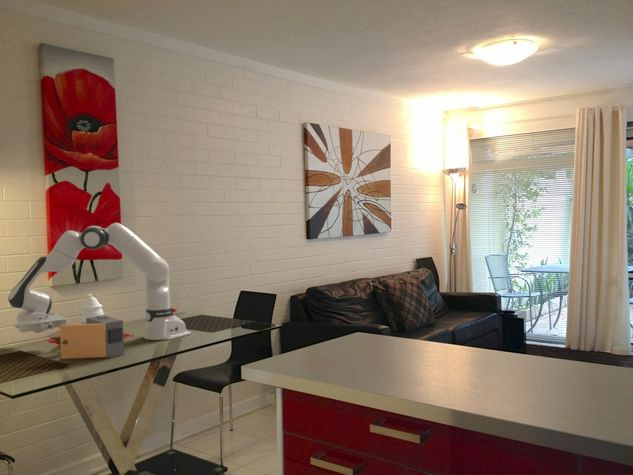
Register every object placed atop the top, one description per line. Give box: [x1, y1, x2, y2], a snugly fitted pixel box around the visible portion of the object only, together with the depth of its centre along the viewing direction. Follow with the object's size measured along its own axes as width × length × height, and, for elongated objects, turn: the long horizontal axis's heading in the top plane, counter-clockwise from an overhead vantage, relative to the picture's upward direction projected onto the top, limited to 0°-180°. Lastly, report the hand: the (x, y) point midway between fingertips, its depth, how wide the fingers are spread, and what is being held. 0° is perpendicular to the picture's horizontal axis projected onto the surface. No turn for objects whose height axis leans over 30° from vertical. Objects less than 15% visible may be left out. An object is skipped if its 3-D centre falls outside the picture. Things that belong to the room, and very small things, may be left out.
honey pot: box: [79, 293, 105, 324], centre depth 322 cm, size 13×13×18 cm
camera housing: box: [86, 314, 125, 359], centre depth 263 cm, size 8×19×16 cm, turn 46°
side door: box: [59, 323, 106, 360], centre depth 252 cm, size 3×18×14 cm, turn 96°
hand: (49, 326), depth 263 cm, fingers closed
